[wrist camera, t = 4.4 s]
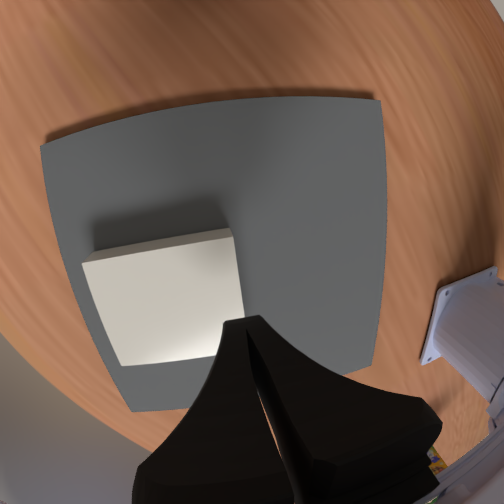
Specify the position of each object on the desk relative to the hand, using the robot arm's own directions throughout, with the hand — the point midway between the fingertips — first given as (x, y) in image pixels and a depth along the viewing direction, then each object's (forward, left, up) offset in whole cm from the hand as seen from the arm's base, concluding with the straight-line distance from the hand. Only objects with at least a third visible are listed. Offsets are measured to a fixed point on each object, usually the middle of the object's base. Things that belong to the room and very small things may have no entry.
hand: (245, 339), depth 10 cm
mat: (0, 0, -5) cm, 5 cm away
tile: (0, 0, -4) cm, 4 cm away
